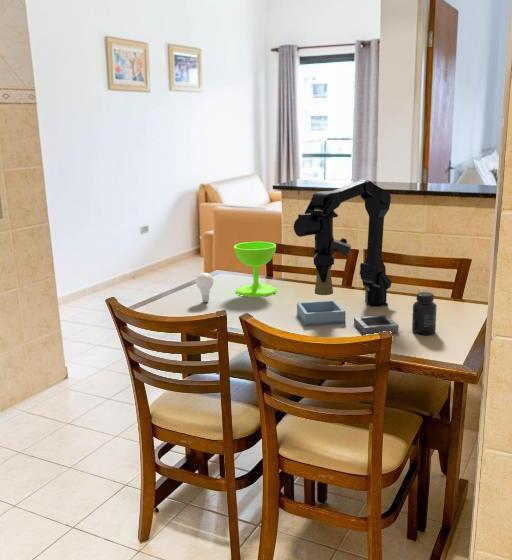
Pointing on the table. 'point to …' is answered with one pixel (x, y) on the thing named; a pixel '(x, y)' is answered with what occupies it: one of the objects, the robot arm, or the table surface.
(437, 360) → the table surface
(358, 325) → the metal collar
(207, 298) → the lightbulb
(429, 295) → the supplement bottle
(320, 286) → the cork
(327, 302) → the plastic tray
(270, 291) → the wineglass
